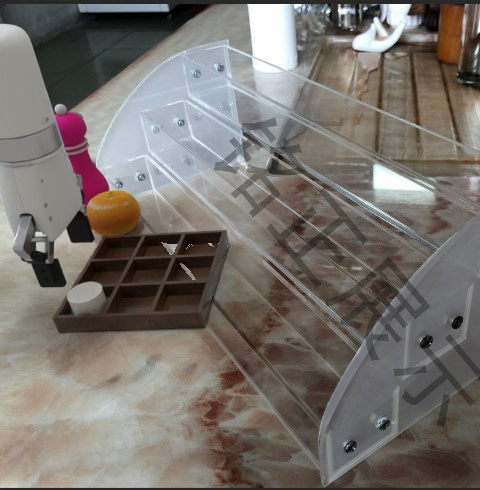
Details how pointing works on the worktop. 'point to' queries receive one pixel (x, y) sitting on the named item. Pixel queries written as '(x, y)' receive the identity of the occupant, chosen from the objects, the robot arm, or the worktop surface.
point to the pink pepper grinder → (80, 152)
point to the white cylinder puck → (87, 298)
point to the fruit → (113, 213)
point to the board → (150, 282)
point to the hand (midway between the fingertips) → (69, 262)
